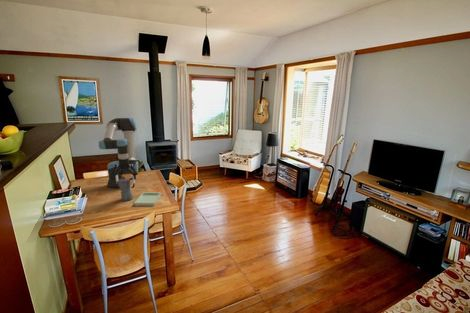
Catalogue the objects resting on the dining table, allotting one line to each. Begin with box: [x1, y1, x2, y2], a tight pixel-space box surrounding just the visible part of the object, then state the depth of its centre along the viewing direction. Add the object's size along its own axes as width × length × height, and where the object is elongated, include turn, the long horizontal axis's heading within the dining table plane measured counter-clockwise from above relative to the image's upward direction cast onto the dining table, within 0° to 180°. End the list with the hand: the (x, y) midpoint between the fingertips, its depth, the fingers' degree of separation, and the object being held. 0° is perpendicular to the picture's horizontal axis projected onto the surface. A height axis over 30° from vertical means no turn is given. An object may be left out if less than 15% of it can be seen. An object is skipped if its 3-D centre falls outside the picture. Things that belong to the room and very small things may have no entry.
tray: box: [133, 191, 162, 207], centre depth 201 cm, size 21×16×2 cm
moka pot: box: [116, 176, 137, 202], centre depth 200 cm, size 10×15×20 cm, turn 135°
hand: (125, 183), depth 198 cm, fingers open, 13 cm apart
